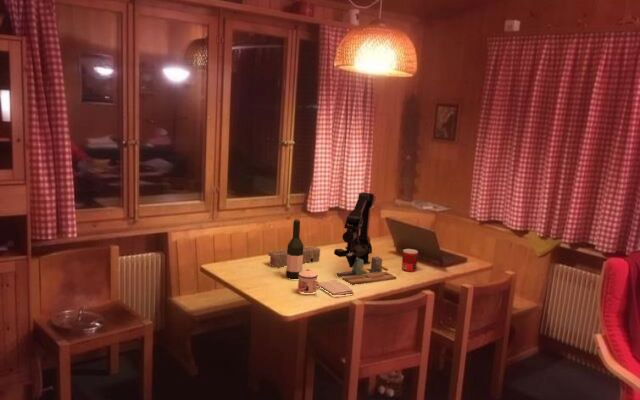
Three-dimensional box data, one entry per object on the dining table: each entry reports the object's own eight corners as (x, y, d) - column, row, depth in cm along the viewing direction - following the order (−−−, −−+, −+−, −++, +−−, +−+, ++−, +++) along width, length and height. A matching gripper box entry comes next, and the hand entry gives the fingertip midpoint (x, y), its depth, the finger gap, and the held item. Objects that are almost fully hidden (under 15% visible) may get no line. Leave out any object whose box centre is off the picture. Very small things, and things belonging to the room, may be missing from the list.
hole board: (342, 279, 288) (342, 276, 288) (385, 273, 301) (386, 271, 301) (352, 285, 280) (352, 282, 280) (396, 279, 294) (396, 276, 293)
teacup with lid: (293, 291, 267) (294, 267, 265) (306, 287, 274) (307, 264, 272) (312, 298, 259) (313, 274, 257) (325, 294, 266) (326, 270, 264)
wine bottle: (305, 276, 289) (308, 219, 283) (297, 281, 281) (300, 222, 276) (290, 273, 292) (293, 216, 286) (282, 278, 285) (285, 219, 279)
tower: (311, 259, 322) (266, 265, 305) (312, 245, 321) (268, 249, 303) (319, 263, 316) (274, 269, 299) (320, 248, 315) (275, 253, 297)
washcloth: (334, 299, 261) (335, 293, 261) (313, 287, 276) (314, 280, 276) (355, 295, 268) (355, 289, 267) (334, 283, 283) (334, 277, 282)
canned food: (415, 273, 306) (417, 253, 303) (400, 271, 307) (402, 251, 305) (416, 269, 313) (418, 249, 311) (401, 267, 314) (403, 248, 312)
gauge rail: (335, 275, 294) (336, 261, 293) (378, 269, 307) (379, 256, 306) (347, 282, 284) (348, 268, 282) (391, 276, 297) (392, 263, 296)
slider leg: (351, 272, 299) (352, 258, 298) (358, 271, 301) (359, 258, 300) (364, 279, 289) (365, 265, 287) (371, 278, 291) (372, 264, 289)
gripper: (346, 243, 281) (343, 274, 284) (377, 241, 290) (374, 270, 293) (334, 238, 291) (332, 267, 294) (364, 235, 300) (362, 264, 303)
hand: (351, 267), depth 295 cm, fingers closed
